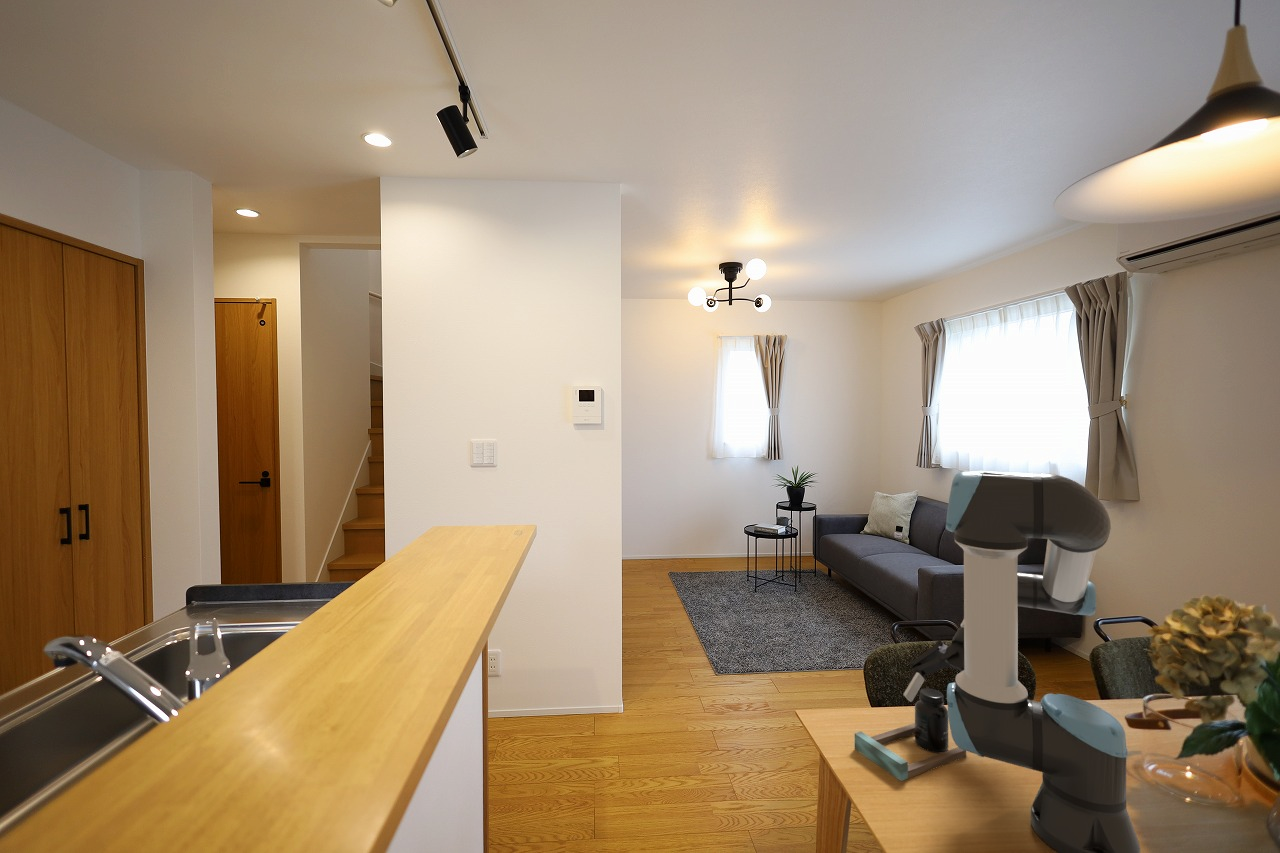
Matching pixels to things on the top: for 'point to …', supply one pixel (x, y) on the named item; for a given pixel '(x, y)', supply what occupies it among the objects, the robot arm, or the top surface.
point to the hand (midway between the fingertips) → (932, 712)
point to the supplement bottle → (931, 721)
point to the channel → (895, 763)
